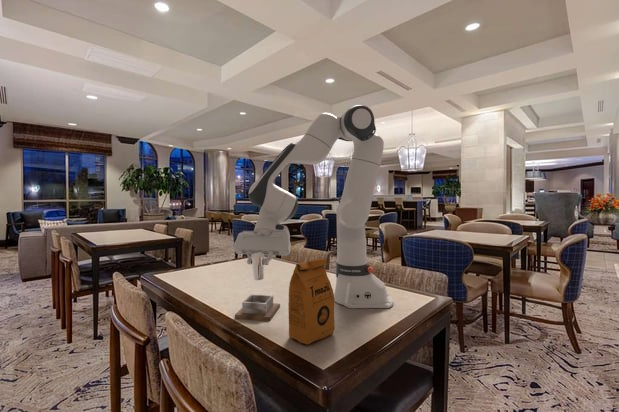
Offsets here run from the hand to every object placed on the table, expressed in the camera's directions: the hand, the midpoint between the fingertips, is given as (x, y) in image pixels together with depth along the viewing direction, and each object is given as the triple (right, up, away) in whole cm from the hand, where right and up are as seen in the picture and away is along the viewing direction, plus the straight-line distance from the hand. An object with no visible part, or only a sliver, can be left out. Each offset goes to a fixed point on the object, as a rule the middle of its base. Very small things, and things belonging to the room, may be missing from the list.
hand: (257, 263), depth 103 cm
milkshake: (0, -6, +1) cm, 6 cm away
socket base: (0, -17, +1) cm, 17 cm away
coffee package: (+18, -18, -16) cm, 30 cm away
